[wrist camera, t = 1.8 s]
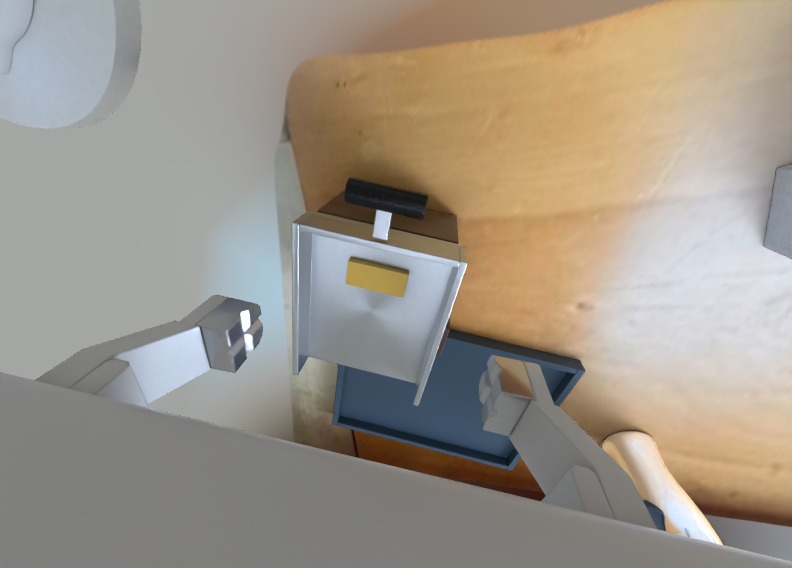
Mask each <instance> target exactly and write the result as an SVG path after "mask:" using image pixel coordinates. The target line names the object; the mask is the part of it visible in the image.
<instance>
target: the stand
mask: <svg viewBox="0 0 792 568" xmlns="http://www.w3.org/2000/svg"><path fill="white" fill-rule="evenodd" d="M318 212H320V213H325V214H329V215H334V216H338V217H342V218H347V219H351V220H355V221H360V222H364V223H368V224H373V225H374V222H375V215H376V210H375V209H370V208H366V207H361V206H357V205H353V204H348V203H346V202H345V191H343V192H341V193H340V194H339V195H337V196H336V197H335V198H333V199H332V200H331V201H329V202H328V203H327V204H326V205H324V206H323V207H322V208H320V209H319V210H318ZM390 229H395V230H399V231H403V232H408V233H412V234H416V235H421V236H425V237H429V238H434V239H438V240H442V241H447V242H451V243H456V244H458V243H459V242H458V229H457V216H455V215H451V214H446V213H442V212H438V211H433V210H429V209H425V213H424V218H423V220H419V219H414V218H410V217H405V216H401V215H397V214H393V216H392V221H391V227H390ZM449 330H450V316H449V319H448V321H447V324H446V327H445V330H444V333H443V336H442V339H441V342H440V344H439V347H438V350H437V353H436V356H440V355H441V353H442V350H443V347H444V344H445V341H446V339H447V336H448V333H449Z"/></svg>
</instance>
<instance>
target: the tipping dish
mask: <svg viewBox="0 0 792 568" xmlns="http://www.w3.org/2000/svg"><path fill="white" fill-rule="evenodd" d="M428 196H429V195H428V194H424V193H420V192H415V191H411V190H407V189H402V188H398V187H393V186H389V185H384V184H380V183H375V182H371V181H366V180H362V179H357V178H353V177H350V178H349V179H348V181H347V184H346V188H345V202H346V203H348V204H353V205H357V206H361V207H366V208H370V209H375V210H376V215H375V222H374V225H373V224H368V223H364V222H360V221H355V220H351V219H347V218H342V217H338V216H334V215H329V214H325V213H320V212H316V211H312V210H309V211H308V212H306V213H305V214H303V215H302V216H301V217H299V218H298V219H296V220H295V221H293V222H292V331H293V375H298V374H299V372H300V370H301V369H302V367H303V365H304V363H305V362H306V360H307V358H308V357H312V358H316V359H320V360H324V361H328V362H332V363H336V364H340V365H344V366H348V367H352V368H356V369H360V370H364V371H368V372H372V373H376V374H380V375H384V376H388V377H392V378H396V379H400V380H404V381H408V382H412V383H416V384H415V392H414V400H413V405H416V406H418V405H419V402H420V399H421V396H422V393H423V391H424V388H425V385H426V382H427V379H428V376H429V373H430V370H431V368H432V365H433V362H434V359H435V356H436V353H437V350H438V347H439V344H440V342H441V339H442V336H443V333H444V330H445V327H446V324H447V321H448V319H449V316H450V313H451V310H452V307H453V304H454V301H455V298H456V295H457V293H458V290H459V287H460V284H461V281H462V278H463V275H464V272H465V270H466V267H467V264H468V263H467V255H466V247H465V246H464V245H460V244H456V243H451V242H447V241H442V240H438V239H434V238H429V237H425V236H421V235H416V234H412V233H408V232H403V231H399V230H395V229H390V227H391V221H392V216H393V214H397V215H401V216H405V217H410V218H414V219H419V220H423V218H424V213H425V209H426V205H427V201H428ZM350 258H354V259H358V260H363V261H367V262H371V263H375V264H380V265H384V266H388V267H392V268H397V269H401V270H405V271H409V275H408V280H407V284H406V288H405V293H404V297H403V298H402V297H397V296H393V295H389V294H385V293H381V292H376V291H372V290H368V289H364V288H360V287H355V286H351V285H347V284H346V275H347V265H348V260H349V259H350Z"/></svg>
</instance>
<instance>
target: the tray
mask: <svg viewBox="0 0 792 568" xmlns="http://www.w3.org/2000/svg"><path fill="white" fill-rule="evenodd" d="M491 355H495V356H500V357H505V358H509V359H514V360H519V361H525V362H531V363H536V364H538V365H539V366H540V368H541V371H542V374H543V376H544V379H545V382H546V384H547V387H548V390H549V392H550V395H551V398H552V400H553V403H554V405H556V406H560V405H561V403H562V402H563V401H564V399H565V398H566V397H567V395H568V394H569V393H570V391H571V390H572V389H573V387H574V386H575V385H576V383H577V382H578V380H579V379H580V378H581V376H582V375H583V374H584V372H585V369H584V367H583V365H582V364H581V361H579V360H575V359H570V358H566V357H562V356H558V355H554V354H550V353H546V352H541V351H537V350H533V349H529V348H525V347H521V346H516V345H512V344H508V343H504V342H500V341H496V340H492V339H487V338H483V337H479V336H475V335H471V334H467V333H463V332H458V331H454V330H449V333H448V336H447V339H446V341H445V344H444V347H443V350H442V353H441V355H440V356H435V359H434V362H433V365H432V368H431V370H430V373H429V376H428V379H427V382H426V385H425V388H424V391H423V393H422V396H421V399H420V402H419V405H418V406H416V405H413V400H414V392H415V384H416V383H412V382H408V381H404V380H400V379H396V378H392V377H388V376H384V375H380V374H376V373H372V372H368V371H364V370H360V369H356V368H352V367H348V366H344V365H340V364H339V366H338V375H337V384H336V393H335V402H334V411H333V420H332V424H333V425H337V426H341V427H345V428H349V429H352V430H356V431H360V432H364V433H368V434H372V435H376V436H380V437H383V438H387V439H391V440H395V441H399V442H403V443H407V444H411V445H414V446H418V447H422V448H426V449H430V450H434V451H438V452H442V453H445V454H449V455H453V456H457V457H461V458H465V459H469V460H473V461H476V462H480V463H484V464H488V465H492V466H496V467H500V468H504V469H507V470H512V469H513V468H514V466H515V465H516V464H517V462H518V461H519V460H520V458H521V456H520V454H519V453H518V451H517V450H516V448H515V447H514V445H513V444H512V442H511V441H510V439H509V436H505V435H501V434H497V433H493V432H489V431H485V430H483V428H482V420H481V412H480V411H481V409H482V407H483V404H482V403H481V401H480V400H479V383H480V378H481V376H482V373H483V372H484V371H486V370H488V366H487V362H488V360H489V358H490V356H491Z"/></svg>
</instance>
